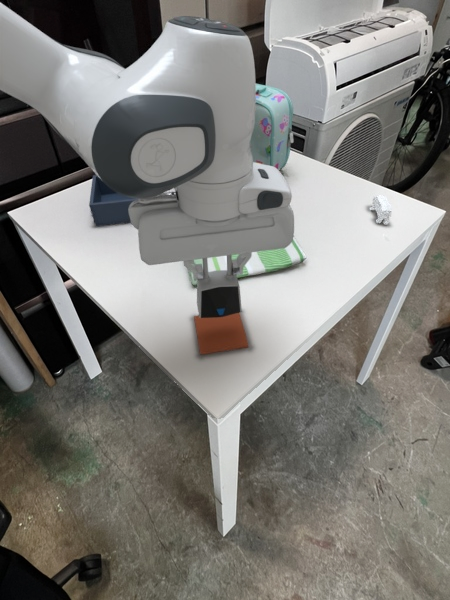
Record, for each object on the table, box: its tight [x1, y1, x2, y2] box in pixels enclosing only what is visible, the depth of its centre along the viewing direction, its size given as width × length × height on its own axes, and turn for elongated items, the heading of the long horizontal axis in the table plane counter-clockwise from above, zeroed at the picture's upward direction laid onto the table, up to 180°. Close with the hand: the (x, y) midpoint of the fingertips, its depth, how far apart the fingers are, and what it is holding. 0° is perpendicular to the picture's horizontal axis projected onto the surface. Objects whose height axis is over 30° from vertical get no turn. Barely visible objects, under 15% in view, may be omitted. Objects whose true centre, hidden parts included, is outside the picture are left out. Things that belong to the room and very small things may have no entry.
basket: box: [88, 174, 139, 227], centre depth 89 cm, size 14×14×6 cm
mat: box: [193, 312, 249, 356], centre depth 63 cm, size 8×8×1 cm
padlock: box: [196, 255, 243, 318], centre depth 53 cm, size 7×4×15 cm, turn 100°
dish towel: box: [188, 236, 307, 286], centre depth 78 cm, size 18×23×3 cm
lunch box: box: [250, 82, 295, 171], centre depth 97 cm, size 27×10×21 cm, turn 48°
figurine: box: [368, 195, 392, 226], centre depth 85 cm, size 2×8×5 cm, turn 0°
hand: (217, 275), depth 54 cm, fingers closed on padlock, 4 cm apart
